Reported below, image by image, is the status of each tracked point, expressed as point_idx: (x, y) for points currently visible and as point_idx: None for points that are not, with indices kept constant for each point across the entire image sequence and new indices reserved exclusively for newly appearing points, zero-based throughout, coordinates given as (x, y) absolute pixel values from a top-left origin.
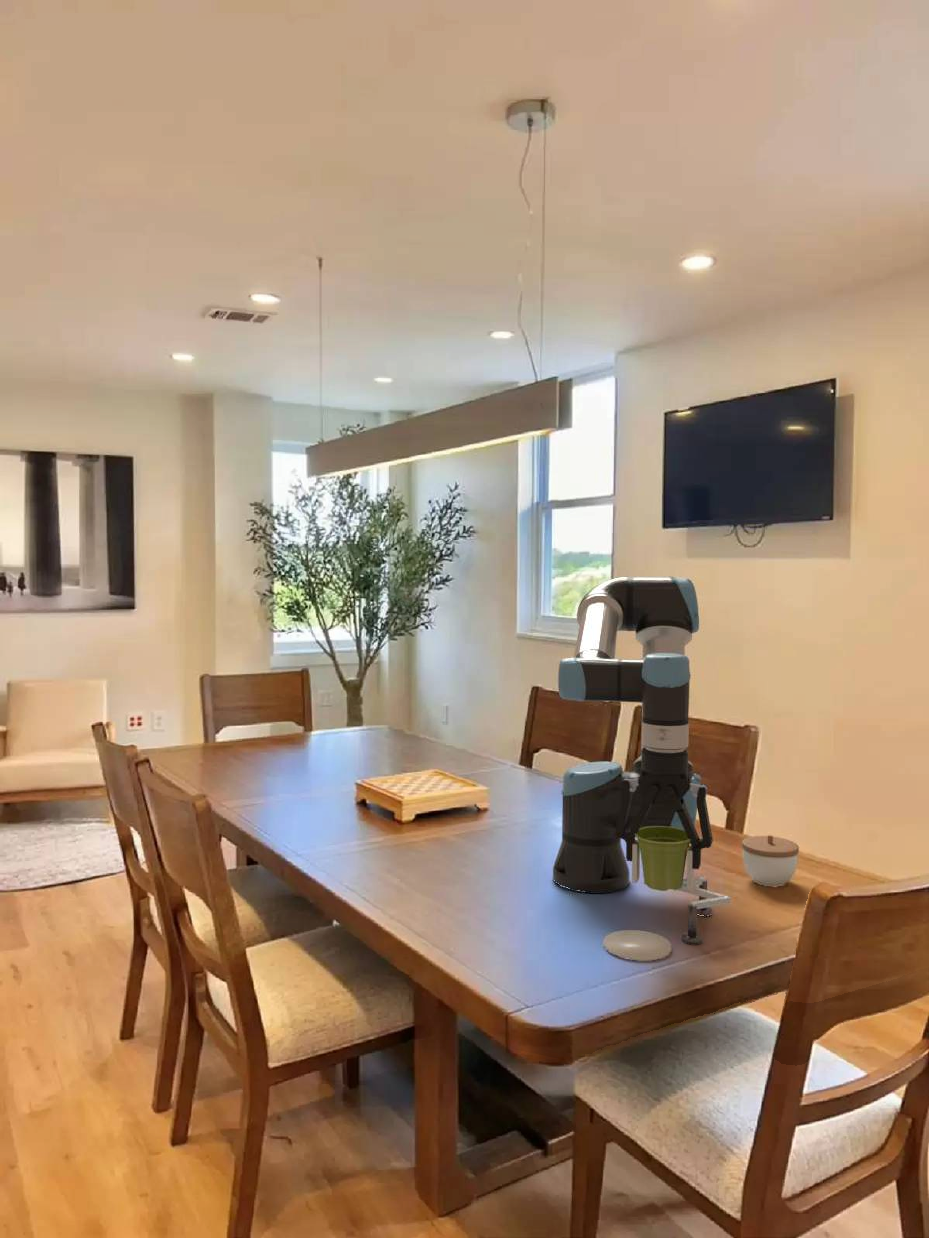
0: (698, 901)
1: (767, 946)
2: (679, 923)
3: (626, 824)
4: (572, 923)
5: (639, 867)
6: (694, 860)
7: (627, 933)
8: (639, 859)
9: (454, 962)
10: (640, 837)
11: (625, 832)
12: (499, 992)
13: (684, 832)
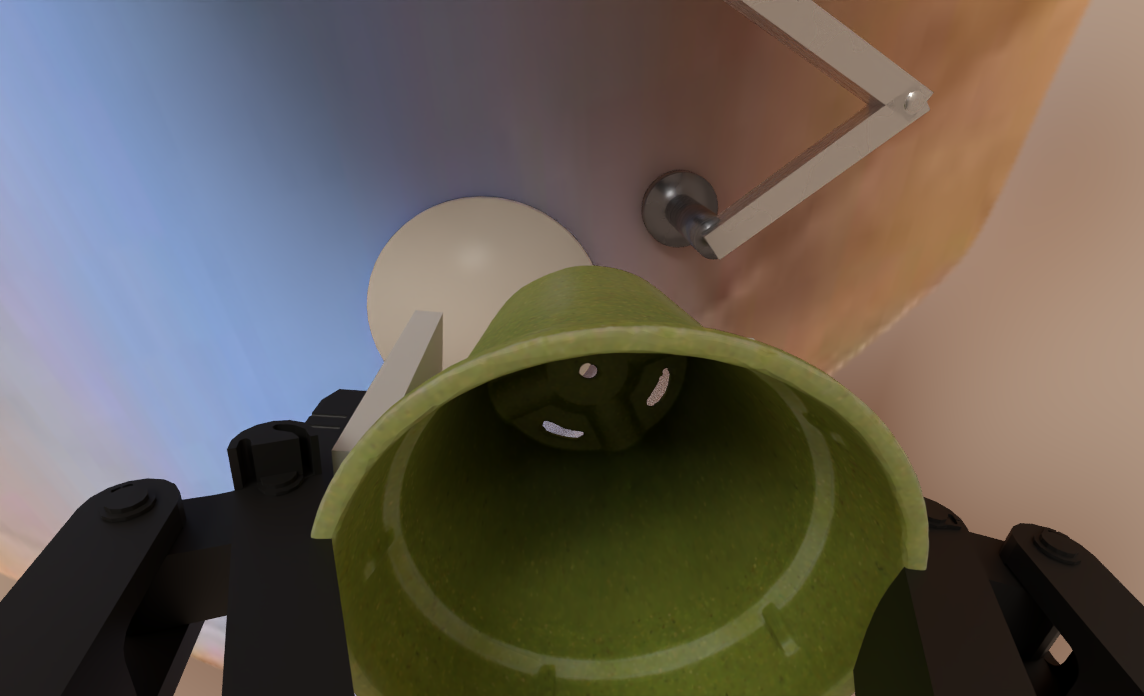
0: (750, 216)
1: (945, 182)
2: (634, 23)
3: (136, 576)
4: (194, 160)
5: (430, 345)
6: None
7: (438, 240)
8: (418, 376)
9: (13, 547)
10: None
11: (212, 606)
12: (218, 637)
13: (861, 443)
